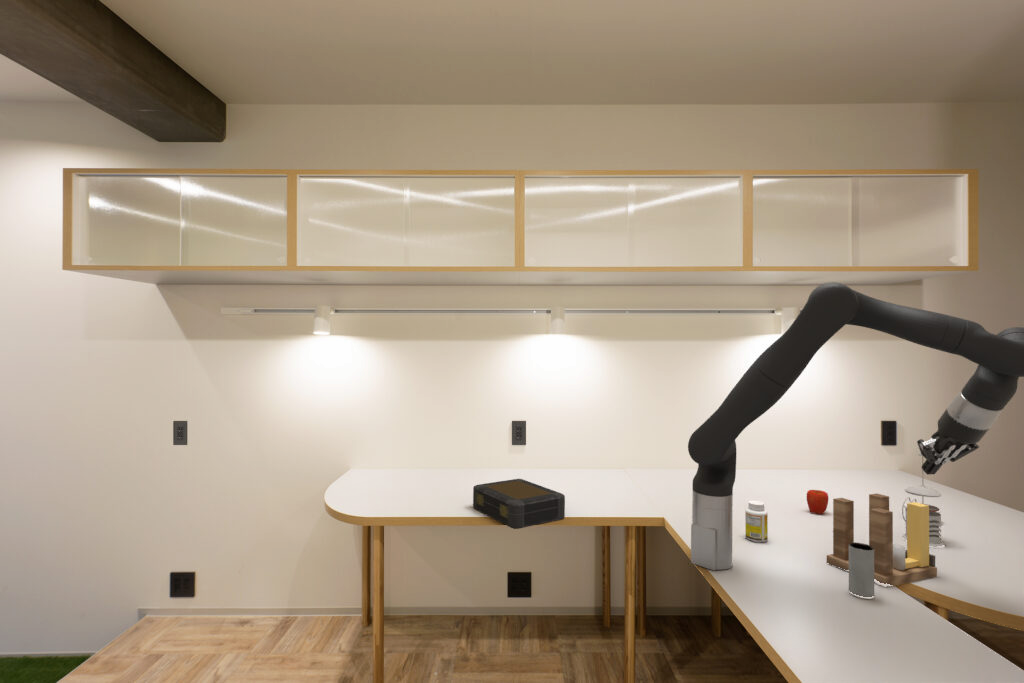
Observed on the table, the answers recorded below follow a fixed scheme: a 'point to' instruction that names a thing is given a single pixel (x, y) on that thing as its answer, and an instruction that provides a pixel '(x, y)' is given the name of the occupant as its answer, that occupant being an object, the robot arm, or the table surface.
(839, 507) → the wooden pillar stand
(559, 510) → the black carrying case
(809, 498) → the apple
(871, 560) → the grey tube
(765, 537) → the supplement bottle
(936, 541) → the french press
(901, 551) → the hinged leg
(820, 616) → the table surface
